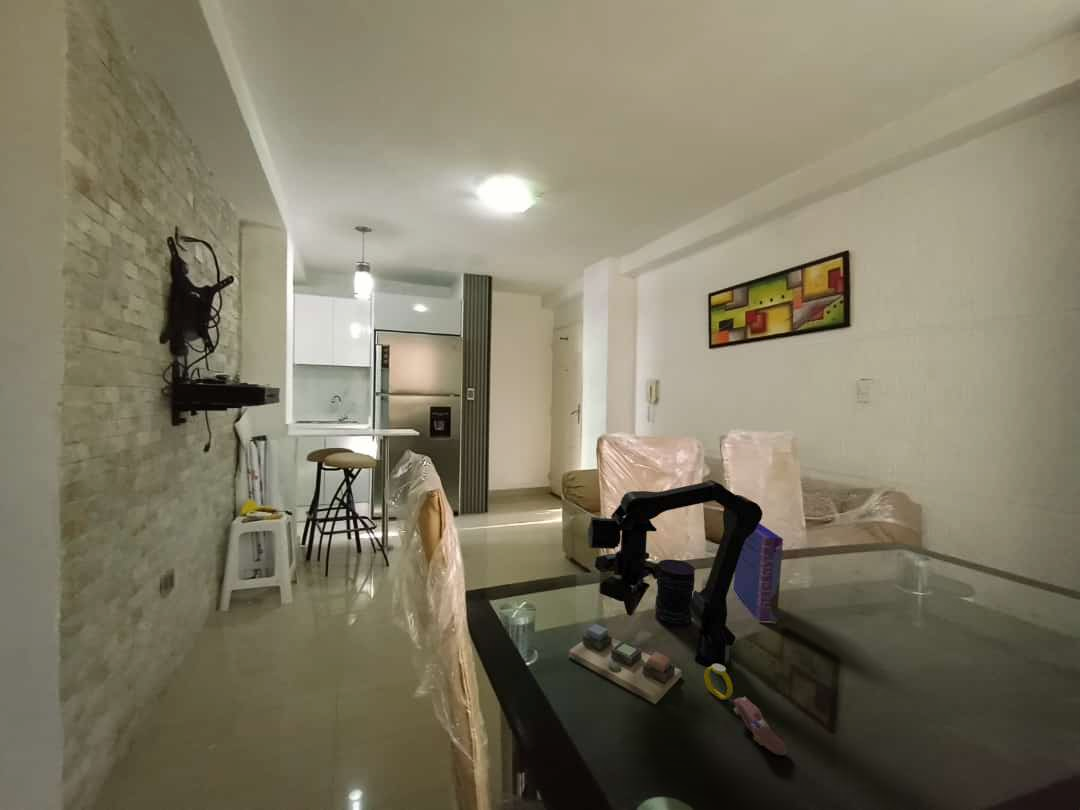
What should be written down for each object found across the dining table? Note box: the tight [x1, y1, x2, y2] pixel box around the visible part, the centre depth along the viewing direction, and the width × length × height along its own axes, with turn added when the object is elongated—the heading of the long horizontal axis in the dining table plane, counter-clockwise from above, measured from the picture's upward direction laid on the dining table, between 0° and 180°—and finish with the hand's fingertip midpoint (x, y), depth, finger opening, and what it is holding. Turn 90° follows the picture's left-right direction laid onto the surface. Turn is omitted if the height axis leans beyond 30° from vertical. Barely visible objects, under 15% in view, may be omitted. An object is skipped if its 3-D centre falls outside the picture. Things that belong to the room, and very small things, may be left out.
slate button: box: [587, 623, 609, 642], centre depth 109 cm, size 3×3×2 cm
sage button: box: [616, 643, 637, 657], centre depth 103 cm, size 3×3×2 cm
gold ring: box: [703, 664, 733, 700], centre depth 95 cm, size 6×3×6 cm, turn 32°
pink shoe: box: [732, 696, 788, 756], centre depth 84 cm, size 10×5×7 cm, turn 5°
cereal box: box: [733, 522, 784, 623], centre depth 133 cm, size 17×5×24 cm, turn 179°
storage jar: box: [654, 559, 696, 630], centre depth 124 cm, size 10×10×15 cm
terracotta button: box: [648, 651, 671, 673], centre depth 98 cm, size 3×3×2 cm
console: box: [568, 631, 682, 705], centre depth 103 cm, size 22×12×4 cm, turn 49°
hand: (629, 614), depth 105 cm, fingers closed
